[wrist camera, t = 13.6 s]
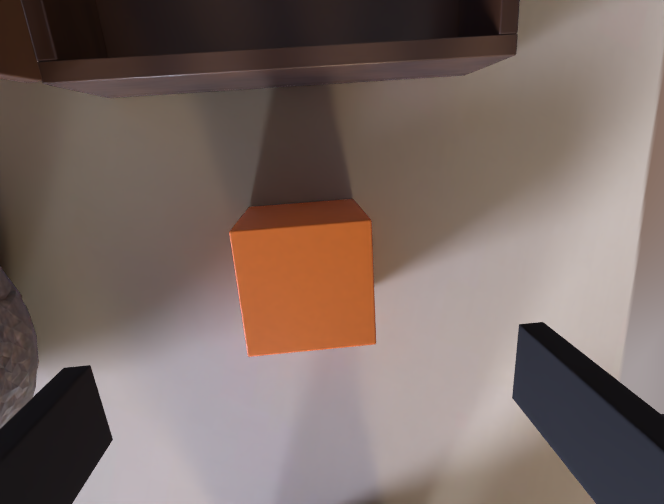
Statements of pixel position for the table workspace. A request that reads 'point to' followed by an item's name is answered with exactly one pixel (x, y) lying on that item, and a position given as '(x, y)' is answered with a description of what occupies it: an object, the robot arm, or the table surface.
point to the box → (261, 42)
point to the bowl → (15, 351)
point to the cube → (305, 276)
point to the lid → (16, 45)
